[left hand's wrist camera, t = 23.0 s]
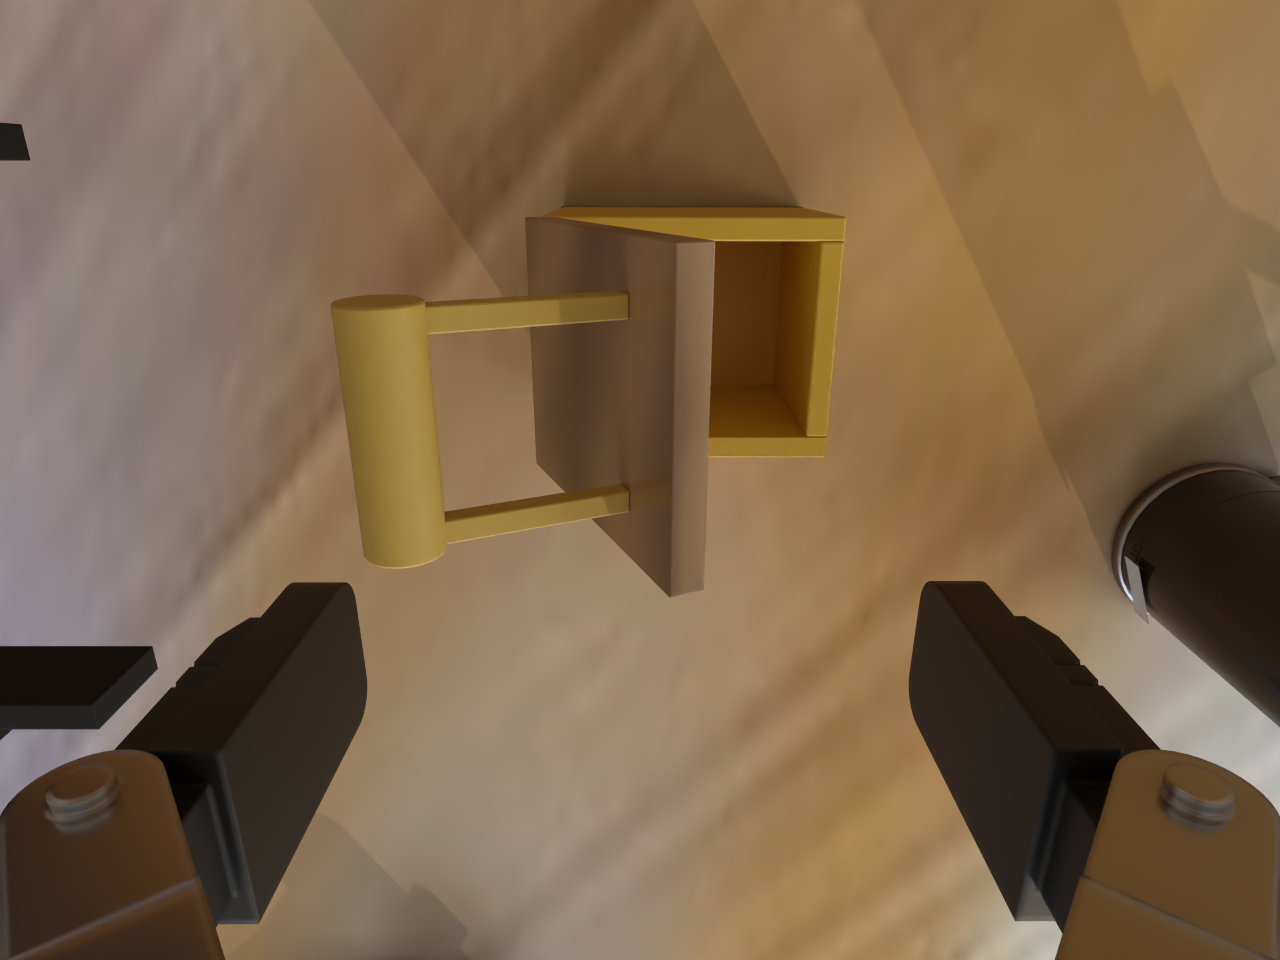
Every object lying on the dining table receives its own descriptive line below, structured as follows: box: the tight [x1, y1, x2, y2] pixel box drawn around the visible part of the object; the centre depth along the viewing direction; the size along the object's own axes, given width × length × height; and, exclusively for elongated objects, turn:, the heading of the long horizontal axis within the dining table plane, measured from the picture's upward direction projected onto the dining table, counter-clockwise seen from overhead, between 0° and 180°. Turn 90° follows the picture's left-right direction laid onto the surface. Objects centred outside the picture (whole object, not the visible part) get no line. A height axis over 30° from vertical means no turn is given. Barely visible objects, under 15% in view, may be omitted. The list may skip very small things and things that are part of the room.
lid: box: [331, 217, 715, 598], centre depth 24 cm, size 12×9×9 cm
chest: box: [543, 206, 846, 457], centre depth 36 cm, size 11×10×10 cm
